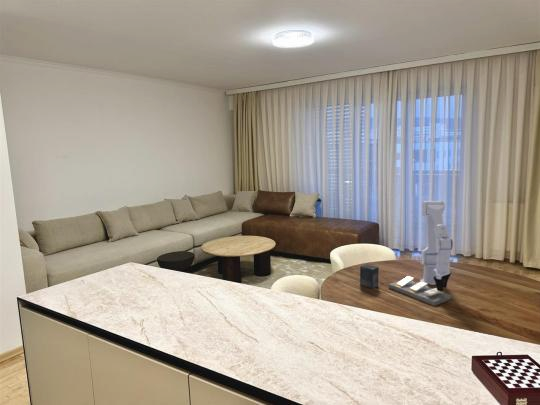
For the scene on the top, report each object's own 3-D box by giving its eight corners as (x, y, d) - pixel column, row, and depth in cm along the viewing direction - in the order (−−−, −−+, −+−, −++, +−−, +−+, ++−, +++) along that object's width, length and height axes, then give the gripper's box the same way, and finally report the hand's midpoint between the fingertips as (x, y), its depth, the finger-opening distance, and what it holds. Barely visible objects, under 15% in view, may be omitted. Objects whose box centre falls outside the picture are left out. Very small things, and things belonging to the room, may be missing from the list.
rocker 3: (435, 289, 175) (435, 287, 175) (442, 291, 172) (442, 290, 172) (424, 293, 170) (424, 291, 170) (431, 295, 167) (431, 293, 167)
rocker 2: (421, 282, 182) (421, 281, 181) (427, 284, 179) (427, 283, 178) (409, 289, 177) (409, 287, 177) (416, 291, 174) (416, 290, 174)
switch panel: (405, 282, 193) (405, 278, 192) (450, 299, 171) (451, 294, 170) (388, 287, 186) (388, 283, 186) (434, 305, 164) (434, 301, 164)
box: (378, 286, 188) (379, 266, 187) (372, 289, 185) (372, 269, 183) (365, 282, 194) (366, 263, 193) (359, 284, 191) (359, 265, 189)
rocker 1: (407, 277, 188) (407, 275, 188) (413, 279, 185) (413, 277, 185) (396, 284, 184) (396, 283, 184) (402, 287, 181) (402, 285, 181)
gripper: (438, 257, 180) (436, 282, 182) (430, 264, 169) (428, 291, 171) (453, 259, 176) (452, 285, 178) (446, 267, 165) (444, 295, 167)
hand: (441, 289), depth 174 cm, fingers open, 6 cm apart
